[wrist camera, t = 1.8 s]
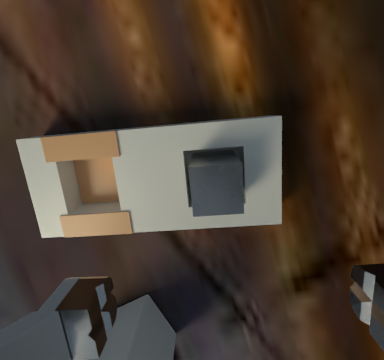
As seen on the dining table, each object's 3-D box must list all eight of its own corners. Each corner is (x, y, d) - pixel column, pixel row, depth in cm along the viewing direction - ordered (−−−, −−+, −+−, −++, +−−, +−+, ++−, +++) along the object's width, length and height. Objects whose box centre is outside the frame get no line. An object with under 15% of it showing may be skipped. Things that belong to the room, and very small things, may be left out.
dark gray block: (232, 149, 25) (242, 163, 18) (234, 187, 26) (244, 213, 19) (193, 152, 26) (188, 167, 19) (196, 190, 27) (193, 216, 20)
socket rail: (270, 115, 25) (282, 115, 21) (271, 208, 28) (282, 224, 24) (43, 135, 27) (14, 140, 23) (63, 221, 29) (40, 238, 25)
